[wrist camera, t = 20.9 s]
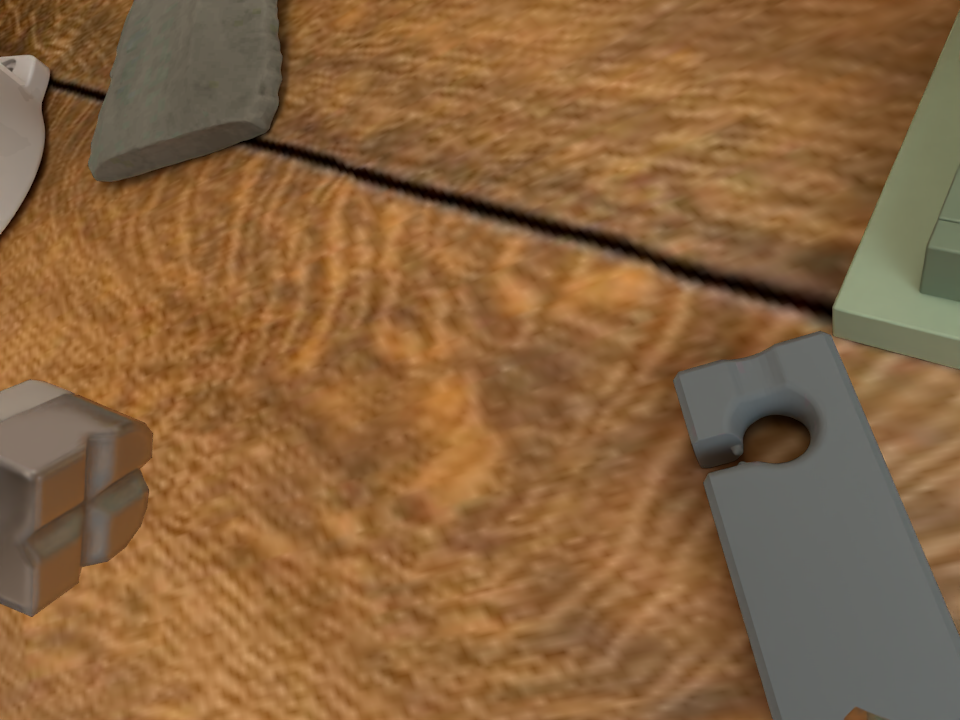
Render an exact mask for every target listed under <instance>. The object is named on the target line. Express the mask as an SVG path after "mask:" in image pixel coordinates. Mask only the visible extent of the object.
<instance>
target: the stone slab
mask: <svg viewBox="0 0 960 720" xmlns="http://www.w3.org/2000/svg"><path fill="white" fill-rule="evenodd" d="M277 12H278V8H277V0H134V2H133V5H132V7H131V9H130V11H129V14H128V16H127V18H126V21H125V24H124V27H123V30H122V33H121V37H120V41H119V44H118V46H117V56H116V59H115V62H114V64H113V67H112V70H111V72H110V77H111V83H110V86H109V89H108V92H107V94H106V97H105V99H104V102H103V104H102V107H101V110H100V112H99V115H98V122H97V126H96V129H95V133H94V136H93V139H92V142H91V155H90V158H89V161H88V166H89V169H90V170H91V172H92V175H93V177H94V178H95V179H96V180H97V181H106V182H113V181H118V180H122V179H125V178H130V177H134V176H138V175H141V174H144V173H147V172H150V171H153V170H156V169H159V168H163V167H166V166H169V165H174V164H177V163H180V162H183V161H185V160H189V159H193V158H197V157H201V156H204V155H207V154H210V153H213V152H216V151H220V150H222V149H224V148H227V147H229V146H232V145H234V144H237V143H239V142H242V141H245V140H249V139H252V138H254V137H256V136H258V135H261V134H264V133H266V132H267V131H268V130H269V129H270V125H271V121H272V119H273V116H274V114H275V112H276V110H277V108H278V105H279V97H278V91H279V87H280V84H281V82H282V75H281V64H282V59H283V56H282V54H281V53H280V41H279V38H278V30H279V20H278V18H277Z"/></svg>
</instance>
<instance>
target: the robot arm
mask: <svg viewBox="0 0 960 720" xmlns="http://www.w3.org/2000/svg"><path fill="white" fill-rule="evenodd" d="M49 78H50V69H49V68H48V67H47V66H46V65H44V64H43V63H42V62H41V61H39V60H38V59H37V58H35V57H34V56H32V55H19V56H8V57H0V234H1V233H2V232H3V230H4V229H5V228H6V226H7V225H8V224H9V222H10V221H11V219H12V218H13V216H14V215H15V213H16V212H17V210H18V209H19V207H20V205H21V204H22V202H23V200H24V198H25V197H26V195H27V193H28V191H29V189H30V187H31V185H32V183H33V181H34V178H35V176H36V173H37V171H38V168H39V165H40V162H41V158H42V155H43V150H44V143H45V126H44V120H43V115H42V101H43V98H44V95H45V92H46V89H47V86H48V82H49ZM152 444H153V433H152V431H151V430H150V429H149V428H148V426H147V425H146V424H145V423H144V422H141V421H139V420H137V419H134V418H132V417H130V416H127V415H125V414H123V413H120V412H118V411H116V410H113V409H111V408H108V407H106V406H104V405H101V404H99V403H97V402H94V401H92V400H90V399H87V398H85V397H83V396H80V395H75V394H74V393H72V392H71V391H68V390H65V389H63V388H60V387H58V386H55V385H53V384H50V383H48V382H45V381H38V380H28V381H25V382H23V383H20V384H18V385H15V386H13V387H10V388H8V389H5V390H3V391H0V604H3V605H5V606H7V607H10V608H12V609H14V610H17V611H19V612H21V613H24V614H26V615H28V616H31V617H33V616H34V615H35V614H37V613H38V612H40V611H41V610H42V609H44V608H45V607H46V606H48V605H49V604H50V603H52V602H53V601H55V600H56V599H57V598H59V597H60V596H61V595H63V594H64V593H65V592H67V591H68V590H70V589H71V588H72V587H74V586H75V585H76V584H78V583H79V578H80V574H81V569H82V567H84V566H89V565H94V564H98V563H103V562H107V561H109V560H110V559H111V558H113V557H114V556H115V555H117V554H118V553H119V552H120V551H122V550H123V549H124V548H125V547H126V546H127V545H128V543H129V542H130V541H131V539H132V538H133V536H134V535H135V534H136V532H137V531H138V529H139V528H140V527H141V524H142V521H143V518H144V515H145V512H146V510H147V504H148V495H149V489H148V486H147V484H146V482H145V480H144V478H143V476H142V473H141V471H140V468H141V467H142V466H144V465H145V464H146V463H147V462H148V461H149V460H150V459H151V458H152ZM844 720H890V719H887V718H885V717H882V716H880V715H877V714H874V713H872V712H869V711H867V710H864V709H861V708H859V707H855V708H854V709H853V710H851V711H850V712H849V713H848V714H847V715H846V716H845V718H844Z"/></svg>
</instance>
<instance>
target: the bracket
mask: <svg viewBox="0 0 960 720" xmlns="http://www.w3.org/2000/svg"><path fill="white" fill-rule="evenodd" d="M673 382H674V385H675V389H676V392H677V395H678V399H679V402H680V406H681V409H682V412H683V416H684V419H685V423H686V426H687V429H688V433H689V436H690V440H691V443H692V446H693V449H694V452H695V455H696V458H697V460H698V462H699V465H700V467H703V468H710V467H714V466H718V465H722V464H726V463H729V462H733V461H735V460H737V459H738V458H739V457H740V456H741V455H742V454H743V436H744V433H745V431H746V430H747V428H748V427H749V426H750V425H751V424H752V423H754V422H755V421H757V420H758V419H760V418H762V417H765V416H768V415H783V416H788V417H791V418H794V419H796V420H798V421H800V422H801V423H803V424H804V425H805V426H806V427H807V429H808V430H809V433H810V436H811V441H810V445H809V447H808V449H807V450H806V451H805V453H804V454H803V455H801V456H800V457H798V458H797V459H795V460H792V461H789V462H786V463H779V464H772V463H765V462H750V463H746V462H744V461H742V462H740V463H738V466H734V467H730V468H726V469H723V470H719V471H715V472H711V473H708V475H707V477H706V479H705V480H704V482H703V484H704V487H705V491H706V494H707V498H708V501H709V504H710V508H711V511H712V515H713V518H714V521H715V525H716V528H717V532H718V535H719V538H720V542H721V545H722V549H723V552H724V555H725V559H726V562H727V566H728V569H729V572H730V576H731V579H732V583H733V586H734V589H735V593H736V596H737V600H738V603H739V606H740V610H741V613H742V617H743V620H744V623H745V627H746V630H747V634H748V637H749V640H750V644H751V647H752V651H753V654H754V657H755V661H756V664H757V668H758V671H759V674H760V678H761V681H762V685H763V688H764V691H765V695H766V698H767V702H768V705H769V708H770V712H771V715H772V719H773V720H844V718H845V716H846V715H847V714H848V713H849V712H850V711H851V710H853V709H854V708H855V707H859V708H861V709H864V710H867V711H869V712H872V713H874V714H877V715H880V716H882V717H885V718H887V719H890V720H960V637H959V634H958V632H957V630H956V627H955V625H954V623H953V620H952V618H951V616H950V613H949V611H948V609H947V606H946V604H945V601H944V599H943V597H942V594H941V592H940V590H939V587H938V585H937V583H936V580H935V578H934V576H933V573H932V571H931V569H930V566H929V564H928V562H927V559H926V557H925V555H924V552H923V550H922V548H921V545H920V543H919V541H918V538H917V536H916V533H915V531H914V529H913V526H912V524H911V522H910V519H909V517H908V515H907V512H906V510H905V508H904V505H903V503H902V501H901V498H900V496H899V494H898V491H897V489H896V487H895V484H894V482H893V480H892V477H891V475H890V473H889V470H888V468H887V465H886V463H885V461H884V458H883V456H882V454H881V451H880V449H879V447H878V444H877V442H876V440H875V437H874V435H873V433H872V430H871V428H870V426H869V423H868V421H867V419H866V416H865V414H864V412H863V409H862V407H861V405H860V402H859V400H858V397H857V395H856V393H855V390H854V388H853V386H852V383H851V381H850V379H849V376H848V374H847V372H846V369H845V367H844V365H843V362H842V360H841V358H840V355H839V353H838V351H837V348H836V346H835V344H834V341H833V339H832V336H831V335H830V334H827V333H824V332H822V331H818V332H815V333H812V334H808V335H805V336H801V337H798V338H794V339H791V340H788V341H784V342H781V343H777V344H774V345H773V346H771V347H770V348H768V349H766V350H764V351H762V352H760V353H758V354H755V355H752V356H749V357H745V358H741V359H734V360H719V361H715V362H712V363H708V364H705V365H701V366H698V367H694V368H691V369H687V370H684V371H680V372H678V374H677V375H676V377H675V378H674V380H673Z"/></svg>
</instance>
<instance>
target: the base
mask: <svg viewBox="0 0 960 720" xmlns="http://www.w3.org/2000/svg"><path fill="white" fill-rule="evenodd" d="M832 328H833V336H835V337H839V338H843V339H847V340H850V341H854V342H858V343H862V344H865V345H869V346H873V347H877V348H880V349H884V350H888V351H892V352H896V353H899V354H903V355H907V356H911V357H914V358H918V359H922V360H926V361H929V362H933V363H937V364H941V365H944V366H948V367H952V368H956V369H960V10H959V12H958V14H957V17H956V19H955V22H954V24H953V26H952V29H951V31H950V33H949V36H948V38H947V40H946V43H945V45H944V47H943V50H942V52H941V54H940V57H939V59H938V61H937V64H936V66H935V68H934V71H933V73H932V75H931V78H930V80H929V82H928V85H927V87H926V89H925V92H924V94H923V96H922V99H921V101H920V103H919V106H918V108H917V110H916V113H915V115H914V117H913V120H912V122H911V125H910V127H909V129H908V132H907V134H906V136H905V139H904V141H903V143H902V146H901V148H900V150H899V153H898V155H897V157H896V160H895V162H894V164H893V167H892V169H891V171H890V174H889V176H888V178H887V181H886V183H885V185H884V188H883V190H882V192H881V195H880V197H879V199H878V202H877V204H876V206H875V209H874V211H873V213H872V216H871V218H870V220H869V223H868V225H867V228H866V230H865V232H864V235H863V237H862V239H861V242H860V244H859V246H858V249H857V251H856V253H855V256H854V258H853V260H852V263H851V265H850V267H849V270H848V272H847V274H846V277H845V279H844V281H843V284H842V286H841V288H840V291H839V293H838V295H837V298H836V300H835V302H834V305H833V307H832Z"/></svg>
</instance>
